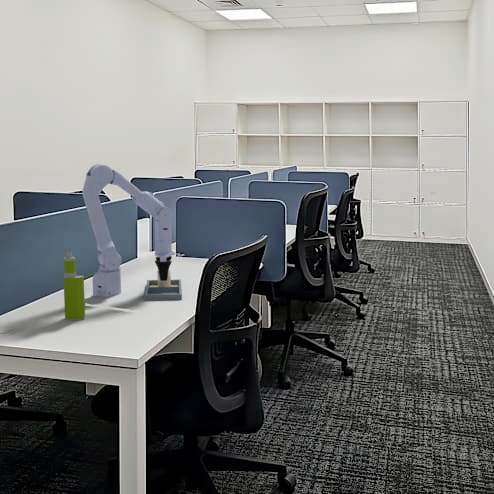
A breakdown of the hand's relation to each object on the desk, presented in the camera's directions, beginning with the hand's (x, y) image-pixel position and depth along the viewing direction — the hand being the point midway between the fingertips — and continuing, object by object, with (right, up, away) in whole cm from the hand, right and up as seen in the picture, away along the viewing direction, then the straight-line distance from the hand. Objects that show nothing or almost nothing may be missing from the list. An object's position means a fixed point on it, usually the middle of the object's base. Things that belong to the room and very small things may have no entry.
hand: (163, 278), depth 239 cm
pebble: (0, -3, 0) cm, 3 cm away
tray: (+1, -5, -5) cm, 7 cm away
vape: (-22, -10, -37) cm, 44 cm away
